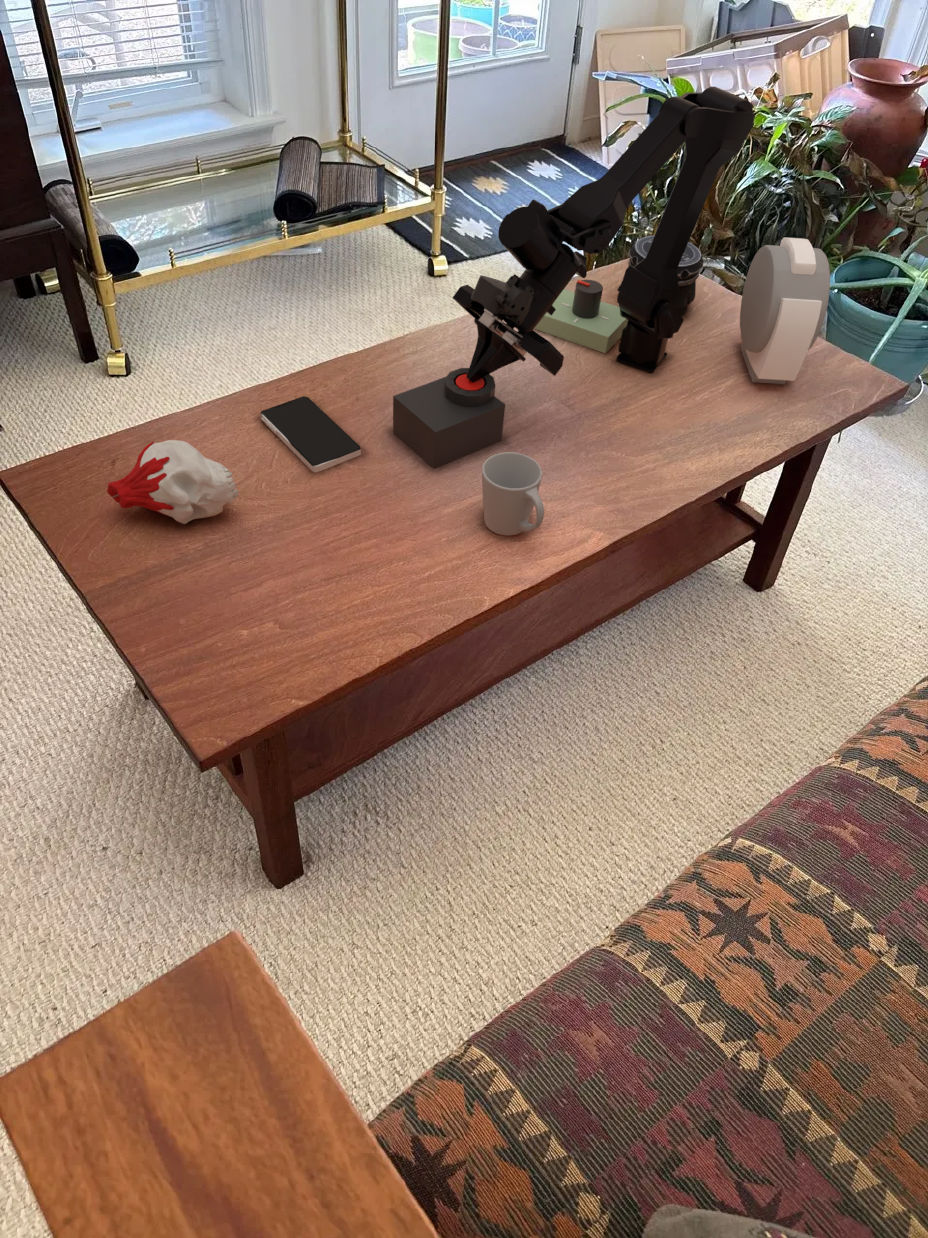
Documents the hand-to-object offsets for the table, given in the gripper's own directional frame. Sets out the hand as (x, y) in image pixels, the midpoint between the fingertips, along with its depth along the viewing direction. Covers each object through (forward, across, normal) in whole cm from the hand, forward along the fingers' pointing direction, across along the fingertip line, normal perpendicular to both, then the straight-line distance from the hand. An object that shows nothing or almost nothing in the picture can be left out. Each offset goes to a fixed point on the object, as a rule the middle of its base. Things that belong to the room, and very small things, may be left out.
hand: (469, 379), depth 131 cm
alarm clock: (-31, +12, +42) cm, 53 cm away
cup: (+12, +20, 0) cm, 23 cm away
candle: (+36, -7, -23) cm, 43 cm away
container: (-30, -12, +41) cm, 52 cm away
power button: (+1, 0, +1) cm, 2 cm away
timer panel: (-18, -12, +30) cm, 37 cm away
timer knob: (-20, -12, +27) cm, 36 cm away
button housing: (+8, 0, +4) cm, 9 cm away
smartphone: (+20, -10, -8) cm, 24 cm away
